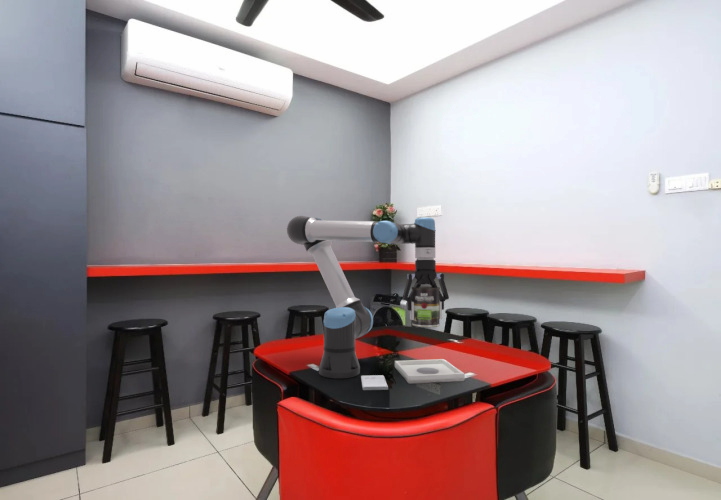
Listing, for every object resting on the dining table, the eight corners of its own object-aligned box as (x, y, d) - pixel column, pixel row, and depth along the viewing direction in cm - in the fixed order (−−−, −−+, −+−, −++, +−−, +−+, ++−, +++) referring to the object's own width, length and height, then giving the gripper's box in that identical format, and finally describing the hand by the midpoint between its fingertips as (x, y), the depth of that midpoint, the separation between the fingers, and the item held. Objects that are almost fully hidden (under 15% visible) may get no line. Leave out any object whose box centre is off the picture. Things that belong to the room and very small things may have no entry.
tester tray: (408, 383, 134) (408, 376, 134) (394, 367, 153) (394, 360, 153) (464, 380, 137) (464, 373, 137) (443, 365, 156) (443, 359, 156)
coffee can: (438, 328, 140) (438, 288, 141) (410, 326, 143) (409, 287, 143) (441, 323, 150) (440, 286, 150) (414, 322, 153) (413, 286, 153)
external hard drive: (362, 391, 127) (361, 379, 139) (388, 391, 127) (384, 379, 140) (362, 386, 127) (361, 375, 140) (388, 386, 127) (384, 374, 140)
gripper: (398, 259, 142) (399, 321, 141) (458, 259, 145) (458, 319, 145) (393, 259, 149) (393, 318, 148) (450, 259, 153) (450, 316, 152)
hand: (425, 319), depth 147 cm, fingers closed on coffee can, 10 cm apart
